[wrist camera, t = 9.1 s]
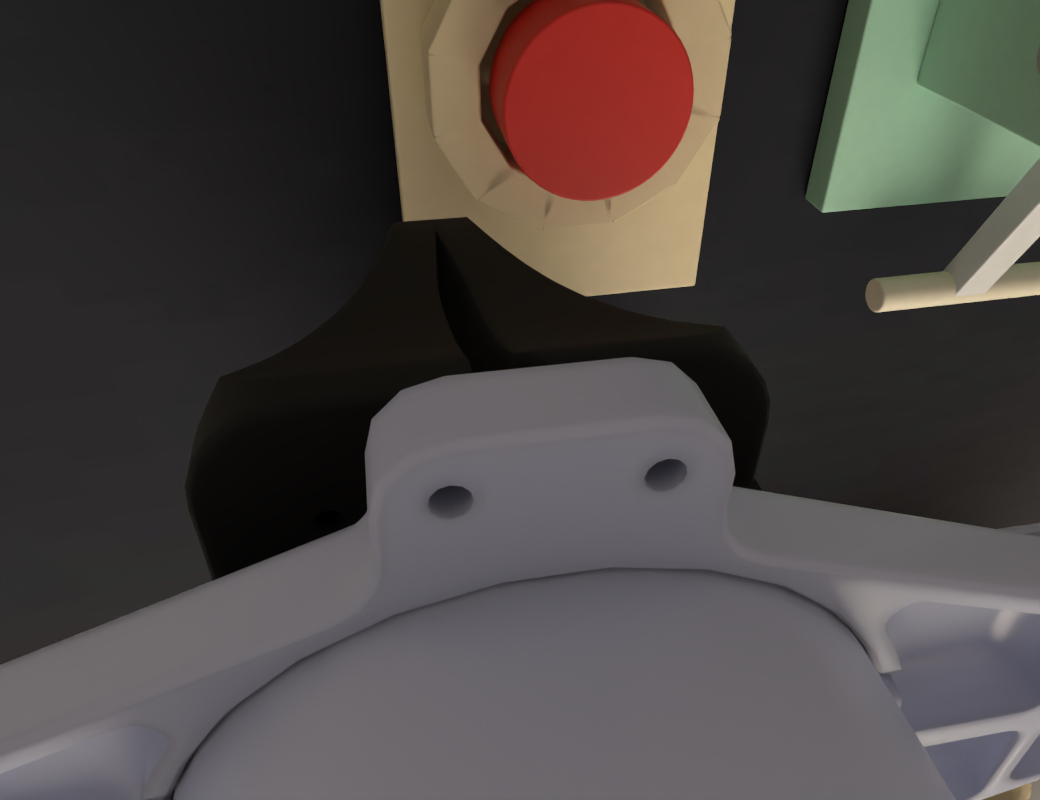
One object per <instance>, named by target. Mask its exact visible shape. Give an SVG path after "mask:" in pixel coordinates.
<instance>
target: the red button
mask: <svg viewBox="0 0 1040 800" xmlns="http://www.w3.org/2000/svg"><path fill="white" fill-rule="evenodd" d="M693 96H694V82H693V73H692V68H691V63H690V60H689V57H688V54H687V51H686V49H685V47H684V45H683V43H682V41H681V39H680V38H679V37H678V35H677V34H676V32H675V31H674V30H673V29H672V28H671V26H670V25H669V24H668V23H667V22H666V21H665V20H663V19H662V18H661V17H659V16H658V15H657V14H655V13H654V12H653V11H651V10H650V9H648V8H647V7H646V6H644V5H643V4H641V3H640V2H638V1H637V0H534V1H532V2H531V3H530V4H529V5H527V6H526V7H525V8H524V9H523V10H522V11H521V12H520V13H519V14H518V15H517V16H516V17H515V18H514V20H513V21H512V22H511V24H510V25H509V26H508V28H507V29H506V31H505V33H504V34H503V36H502V38H501V40H500V42H499V45H498V47H497V49H496V52H495V55H494V59H493V62H492V67H491V73H490V99H491V105H492V109H493V113H494V116H495V119H496V122H497V124H498V126H499V128H500V130H501V132H502V135H503V137H504V139H505V141H506V143H507V145H508V147H509V149H510V151H511V153H512V155H513V157H514V159H515V161H516V162H517V164H518V165H519V166H520V168H521V169H522V171H523V172H524V173H525V174H526V175H527V176H528V177H529V178H530V179H531V180H532V181H533V182H535V183H536V184H537V185H538V186H540V187H541V188H543V189H545V190H546V191H548V192H550V193H552V194H555V195H557V196H560V197H563V198H567V199H571V200H580V201H597V200H603V199H609V198H612V197H616V196H619V195H622V194H624V193H627V192H629V191H631V190H633V189H635V188H636V187H638V186H640V185H641V184H643V183H644V182H646V181H647V180H649V179H650V178H651V177H652V176H653V175H654V174H656V173H657V172H658V171H659V170H660V169H661V168H662V167H663V166H664V165H665V163H666V162H667V161H668V160H669V159H670V157H671V156H672V154H673V153H674V152H675V150H676V149H677V147H678V145H679V143H680V142H681V140H682V138H683V135H684V133H685V131H686V128H687V126H688V122H689V119H690V116H691V111H692V105H693Z"/></svg>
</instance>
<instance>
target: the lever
mask: <svg viewBox="0 0 1040 800" xmlns="http://www.w3.org/2000/svg"><path fill="white" fill-rule="evenodd" d="M1039 237H1040V158H1039V159H1038V160H1037V162H1036V163H1035V164H1034V165H1033V166H1032V168H1031V169H1030V170H1029V171H1028V172H1027V173H1026V175H1025V176H1024V177H1023V178H1022V179H1021V180H1020V182H1019V183H1018V184H1017V185H1016V186H1015V187H1014V189H1013V190H1012V191H1011V192H1010V193H1009V194H1008V196H1007V197H1006V198H1005V199H1004V200H1003V202H1002V203H1001V204H1000V205H999V206H998V207H997V209H996V210H995V211H994V212H993V213H992V214H991V216H990V217H989V218H988V219H987V220H986V221H985V223H984V224H983V225H982V226H981V227H980V228H979V230H978V231H977V232H976V233H975V234H974V236H973V237H972V238H971V239H970V240H969V241H968V243H967V244H966V245H965V246H964V247H963V248H962V250H961V251H960V252H959V253H958V254H957V255H956V257H955V258H954V259H953V260H952V261H951V263H950V264H949V265H948V266H947V267H946V268H945V270H944V271H942V272H932V273H923V274H913V275H903V276H893V277H884V278H875V279H872V280H871V281H870V282H869V283H868V285H867V288H866V302H867V305H868V307H869V308H870V309H871V310H872V311H874V312H885V311H895V310H904V309H913V308H922V307H931V306H940V305H950V304H959V303H968V302H977V301H986V300H995V299H1005V298H1014V297H1023V296H1032V295H1040V262H1030V263H1020V264H1014V263H1015V262H1016V260H1017V259H1018V258H1019V257H1020V256H1021V255H1022V254H1023V253H1024V252H1025V251H1026V250H1027V249H1028V248H1029V247H1030V246H1031V245H1032V244H1033V243H1034V242H1035V241H1036V240H1037V239H1038V238H1039Z"/></svg>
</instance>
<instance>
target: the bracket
mask: <svg viewBox="0 0 1040 800" xmlns="http://www.w3.org/2000/svg"><path fill="white" fill-rule="evenodd" d="M1039 158H1040V0H849V1H848V6H847V11H846V15H845V20H844V24H843V29H842V33H841V38H840V42H839V47H838V51H837V56H836V61H835V65H834V70H833V74H832V79H831V83H830V88H829V92H828V97H827V101H826V106H825V110H824V115H823V120H822V124H821V129H820V133H819V138H818V142H817V147H816V151H815V156H814V160H813V165H812V170H811V174H810V179H809V183H808V188H807V192H806V199H807V200H808V201H809V202H811V203H812V204H813V205H814V206H815V207H816V208H817V209H819V210H820V211H821V212H835V211H846V210H857V209H868V208H880V207H891V206H902V205H913V204H924V203H936V202H947V201H958V200H969V199H980V198H992V197H1003V196H1008V194H1009V193H1010V192H1011V191H1012V190H1013V189H1014V187H1015V186H1016V185H1017V184H1018V183H1019V182H1020V180H1021V179H1022V178H1023V177H1024V176H1025V175H1026V173H1027V172H1028V171H1029V170H1030V169H1031V168H1032V166H1033V165H1034V164H1035V163H1036V162H1037V160H1038V159H1039Z"/></svg>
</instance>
